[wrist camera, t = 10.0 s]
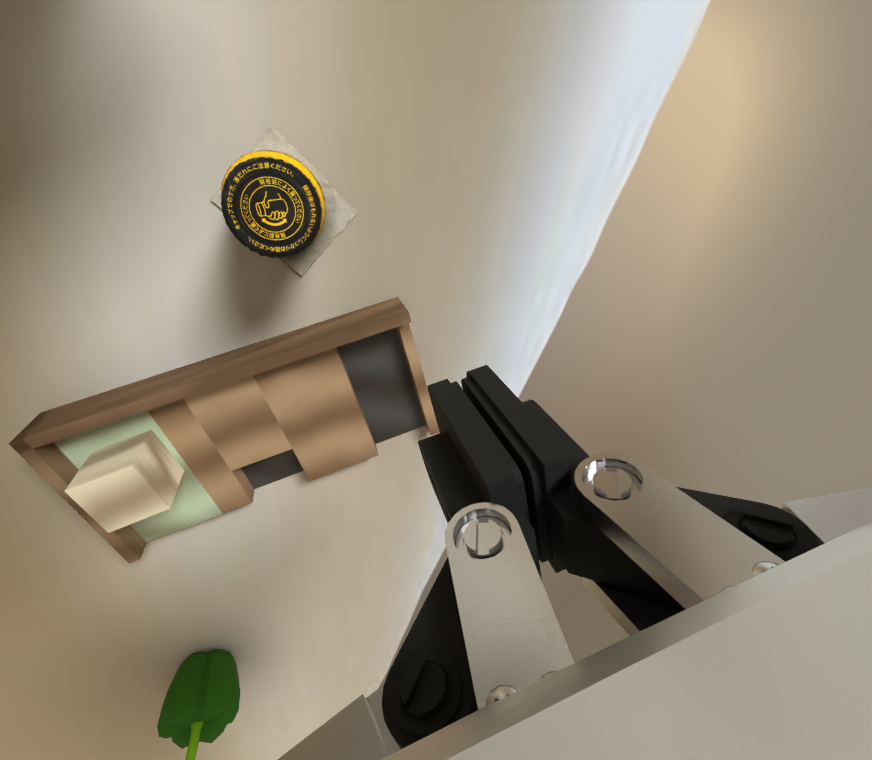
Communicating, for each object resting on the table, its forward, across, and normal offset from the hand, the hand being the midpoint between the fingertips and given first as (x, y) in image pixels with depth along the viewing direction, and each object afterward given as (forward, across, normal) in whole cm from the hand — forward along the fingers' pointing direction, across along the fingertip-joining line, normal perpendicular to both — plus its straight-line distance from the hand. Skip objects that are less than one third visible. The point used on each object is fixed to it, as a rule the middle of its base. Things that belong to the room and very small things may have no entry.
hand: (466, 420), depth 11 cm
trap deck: (+29, +13, +14) cm, 35 cm away
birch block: (+26, +24, +12) cm, 38 cm away
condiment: (+29, +4, -4) cm, 30 cm away
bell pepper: (+29, +35, +45) cm, 64 cm away
